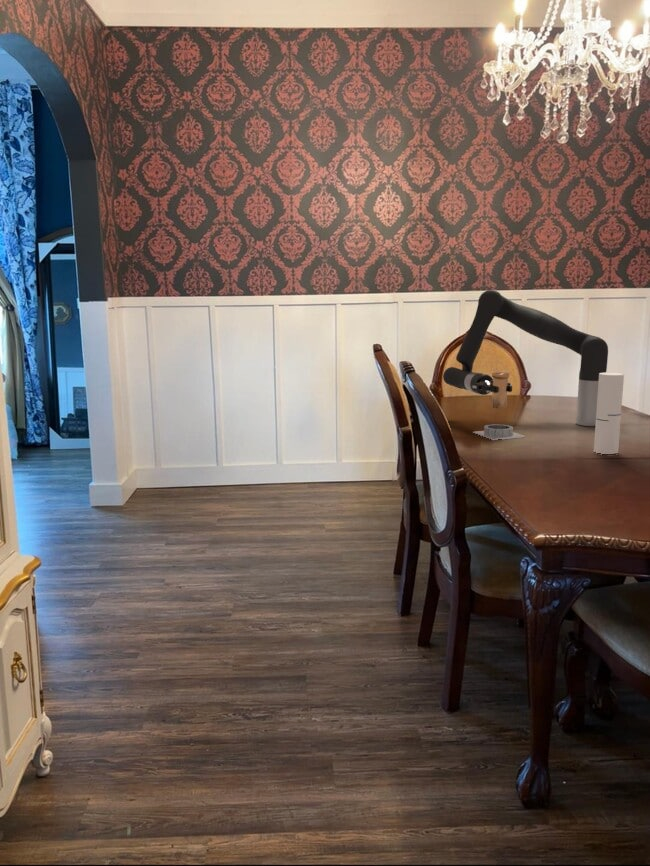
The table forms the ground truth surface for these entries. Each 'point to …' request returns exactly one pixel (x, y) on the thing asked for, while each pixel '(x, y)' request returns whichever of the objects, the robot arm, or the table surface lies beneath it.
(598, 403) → the cylindrical container
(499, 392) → the copper pipe
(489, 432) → the duct collar
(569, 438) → the table surface
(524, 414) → the table surface
